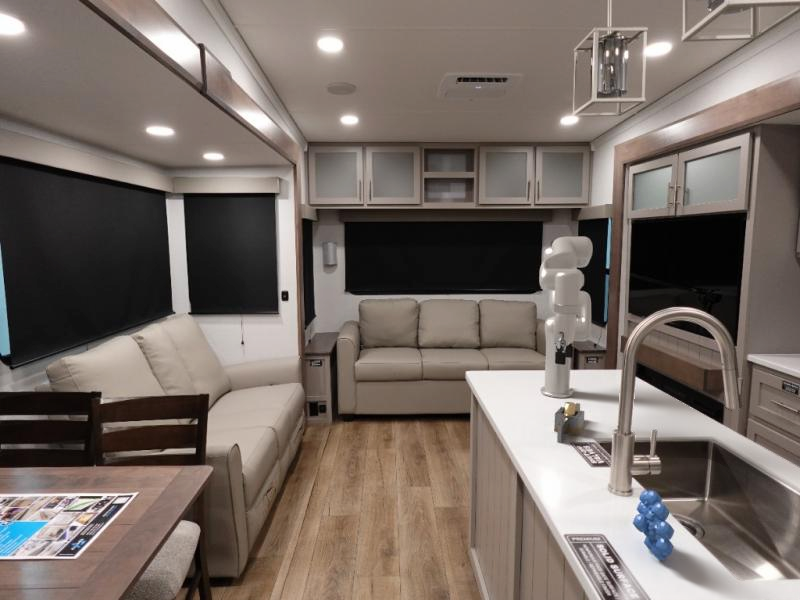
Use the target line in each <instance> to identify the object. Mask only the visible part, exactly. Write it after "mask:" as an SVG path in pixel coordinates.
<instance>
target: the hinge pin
mask: <svg viewBox="0 0 800 600" xmlns="http://www.w3.org/2000/svg"><path fill="white" fill-rule="evenodd" d="M575 404H576V403H575V402H573V401H565V402H564V407H565V412H564V414H568V415H573V416H575Z"/></svg>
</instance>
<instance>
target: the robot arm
mask: <svg viewBox="0 0 800 600" xmlns="http://www.w3.org/2000/svg"><path fill="white" fill-rule="evenodd" d="M551 244H552V245H551V246H549V247H548V248H546V249H544V251H543V261H542V262H541V265H540V268H539V278H538V279H539V280H538V281H539V286H540V288H541V289H542V290H543V291H548V307H549V310H550V311H551V312H552V313H553V314H554V315H555V316H553V315H552V316H550V317H548V318H547V319H546V320H545V322H544V334H545V365H544V366H545V369H544V386H542V387H540V393H541V394H543V395H545V396H547V397H552V398H555V399H556V398H560V399H566V398H570V397H572V396H573V395H574V391H573V390H572V389H570V381H571V380H570V379H571V378H570V377H571V359H572V358H573V355H574V342H587V341H589V340H590V339H591V336H592V300H591V296H590V294H589V293H588V292H586V291H584V290H581V289H582V287H584V285H585V275H584V274H583V272H582V271H581V270H580V269H577V268H585V267H587V266H588V265H589V263H590V261H591V259H592V256H593V242H592V240H591V239H590V238H589V237H587V236H561V237H557V238H556V239H555V240H553V242H552V243H551Z"/></svg>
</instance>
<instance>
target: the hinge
mask: <svg viewBox="0 0 800 600" xmlns="http://www.w3.org/2000/svg"><path fill="white" fill-rule="evenodd" d="M564 412H565V406H560V407H559V409H558V410H557V411H555V413H554V424H553V425H554V427H553V428H554V430H553V431H554V432H555V431H556V433H557V435H556V436H557V437H556V438H557V439H556V442H557V443H559V444H562V443H563V441H564V440H565V439H566V437H567V436H568V435H570V436H573V437H579V436H580V435H581V433H582V432H583V430H585V429H584V428H585V411H584V410H581V403H579V402H576V403H575V416H573V415H568V414H564Z"/></svg>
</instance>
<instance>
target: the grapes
mask: <svg viewBox="0 0 800 600" xmlns="http://www.w3.org/2000/svg"><path fill="white" fill-rule="evenodd" d="M638 499H639V501H640V502H639V503H638V505H637V507H636V511H637V512H638V514H636V515H635V517H634V518H633V521H632V524H633V526H634V527H635V528H636V530H638V531H639V532H640V533H643V534H644V536H645V538H644V541H643V544H644V545H645V546H646V548H647V549H648V550H649V551H650V552H651V553H652V555H653V556H654V557H655V558H656V559H657V560H659V561H661V562H663V561H665V560H666V559H667V557H669V556H671V555H672V554H673V551H674V548H675V546H674V544H673V543H672V542H671V541H670V540H671V539H672V538H673V536H674V533H675V529H674V528H673V526H672V525H671V524H670V523H669V522H667V521H666V520H667V519H668V517H669V515H670V512H671V511H670V510H669V509H668V507H667V506H666V505H665V504H664V503H663V499H662V497H661V496H660V494H659V493H658V492H656V491H655V490H651V489H650V490H648V489H644V490H643V491H641V493H640V495H639V498H638Z"/></svg>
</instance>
